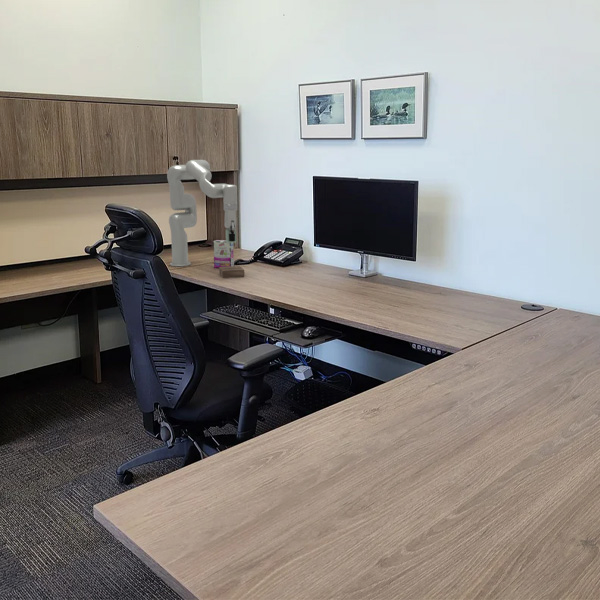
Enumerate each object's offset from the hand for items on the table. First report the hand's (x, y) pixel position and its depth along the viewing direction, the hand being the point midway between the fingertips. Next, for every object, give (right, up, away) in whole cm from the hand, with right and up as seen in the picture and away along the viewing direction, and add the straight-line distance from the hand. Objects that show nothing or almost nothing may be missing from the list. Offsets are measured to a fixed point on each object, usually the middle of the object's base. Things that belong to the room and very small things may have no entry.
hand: (231, 240), depth 347 cm
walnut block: (0, -19, +5) cm, 20 cm away
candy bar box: (-7, -14, +26) cm, 31 cm away
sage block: (0, -1, 0) cm, 1 cm away
